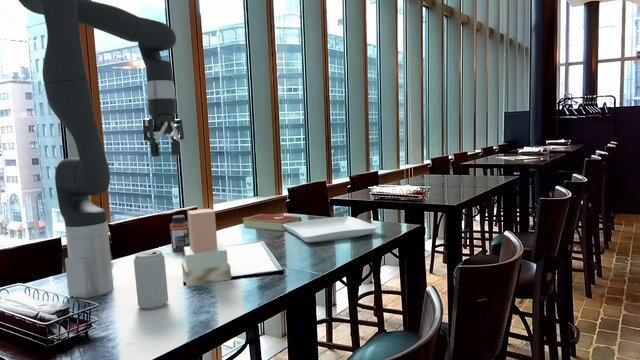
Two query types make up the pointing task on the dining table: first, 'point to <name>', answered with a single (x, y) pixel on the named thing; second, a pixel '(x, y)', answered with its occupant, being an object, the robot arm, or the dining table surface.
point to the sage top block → (206, 258)
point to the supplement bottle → (179, 233)
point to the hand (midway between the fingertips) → (166, 155)
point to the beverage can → (151, 279)
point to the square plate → (330, 229)
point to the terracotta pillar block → (202, 230)
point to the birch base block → (206, 275)
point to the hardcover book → (269, 221)
